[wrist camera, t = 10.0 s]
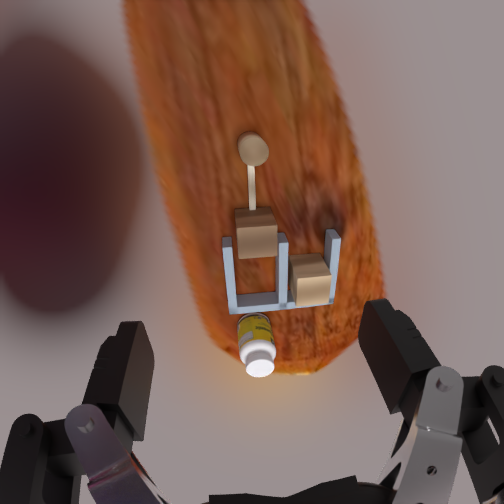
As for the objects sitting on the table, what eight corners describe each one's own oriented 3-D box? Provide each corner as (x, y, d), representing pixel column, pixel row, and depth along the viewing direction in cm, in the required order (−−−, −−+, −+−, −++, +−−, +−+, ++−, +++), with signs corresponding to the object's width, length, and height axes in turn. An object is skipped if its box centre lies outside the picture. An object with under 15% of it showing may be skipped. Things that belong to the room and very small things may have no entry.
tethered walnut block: (229, 132, 36) (231, 139, 30) (267, 130, 36) (276, 137, 31) (236, 236, 42) (238, 258, 37) (270, 234, 43) (277, 255, 37)
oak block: (288, 255, 45) (297, 278, 39) (319, 252, 45) (331, 275, 40) (288, 281, 47) (296, 306, 42) (317, 279, 47) (328, 302, 42)
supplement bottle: (276, 323, 51) (286, 368, 42) (251, 340, 52) (257, 385, 44) (255, 305, 48) (263, 351, 40) (230, 323, 50) (232, 369, 41)
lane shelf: (222, 237, 42) (222, 247, 40) (333, 229, 43) (340, 238, 41) (228, 301, 48) (229, 314, 45) (327, 292, 49) (333, 303, 46)
